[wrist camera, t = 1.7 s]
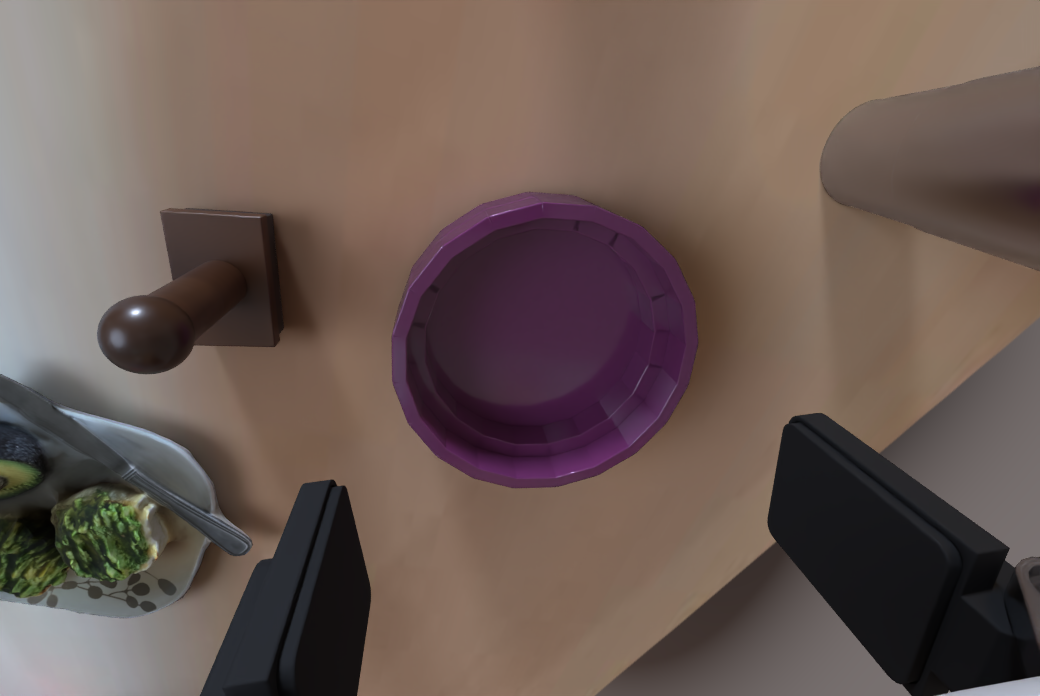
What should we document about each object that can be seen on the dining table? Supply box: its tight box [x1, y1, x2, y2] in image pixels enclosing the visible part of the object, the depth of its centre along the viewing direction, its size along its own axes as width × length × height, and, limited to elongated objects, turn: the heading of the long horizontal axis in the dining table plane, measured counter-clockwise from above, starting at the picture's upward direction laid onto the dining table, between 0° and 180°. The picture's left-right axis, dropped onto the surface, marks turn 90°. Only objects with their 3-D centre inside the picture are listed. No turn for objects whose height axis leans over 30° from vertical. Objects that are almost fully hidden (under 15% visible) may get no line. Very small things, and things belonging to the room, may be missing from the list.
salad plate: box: [0, 374, 253, 618], centre depth 32 cm, size 19×18×5 cm
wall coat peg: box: [97, 208, 284, 374], centre depth 24 cm, size 7×5×12 cm, turn 175°
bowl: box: [392, 192, 698, 488], centre depth 31 cm, size 18×18×6 cm
